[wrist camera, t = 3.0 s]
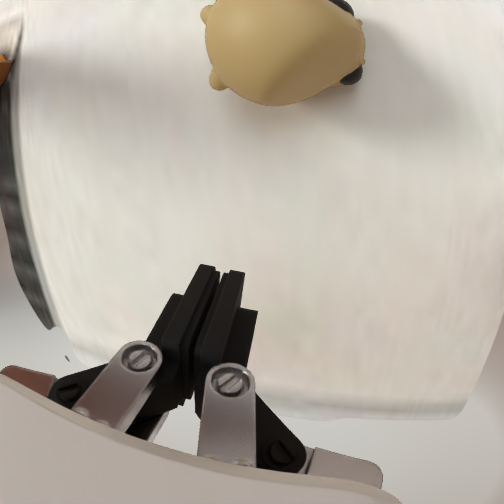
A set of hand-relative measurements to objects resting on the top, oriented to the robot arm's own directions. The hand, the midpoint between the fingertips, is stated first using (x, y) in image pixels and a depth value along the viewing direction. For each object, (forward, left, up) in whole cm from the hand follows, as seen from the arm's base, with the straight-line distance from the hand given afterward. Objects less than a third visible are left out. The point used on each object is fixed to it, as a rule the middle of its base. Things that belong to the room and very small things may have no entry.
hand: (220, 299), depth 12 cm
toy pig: (-8, -8, -18) cm, 21 cm away
